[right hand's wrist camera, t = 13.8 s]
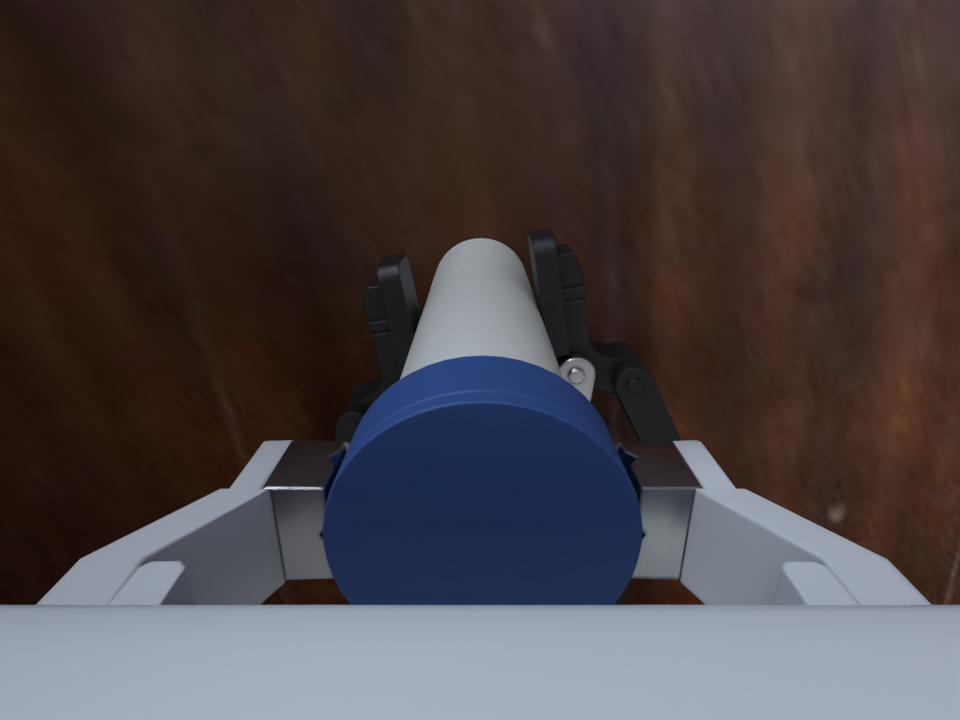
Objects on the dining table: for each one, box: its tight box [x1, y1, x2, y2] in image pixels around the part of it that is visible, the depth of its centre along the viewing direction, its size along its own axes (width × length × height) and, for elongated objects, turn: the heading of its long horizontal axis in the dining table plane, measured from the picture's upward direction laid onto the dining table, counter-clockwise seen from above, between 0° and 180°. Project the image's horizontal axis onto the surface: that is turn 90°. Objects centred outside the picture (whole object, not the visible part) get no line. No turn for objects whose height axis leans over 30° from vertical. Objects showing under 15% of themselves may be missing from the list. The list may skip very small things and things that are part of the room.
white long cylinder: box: [400, 238, 563, 379], centre depth 17 cm, size 4×4×16 cm
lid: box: [323, 355, 643, 605], centre depth 9 cm, size 5×5×2 cm
